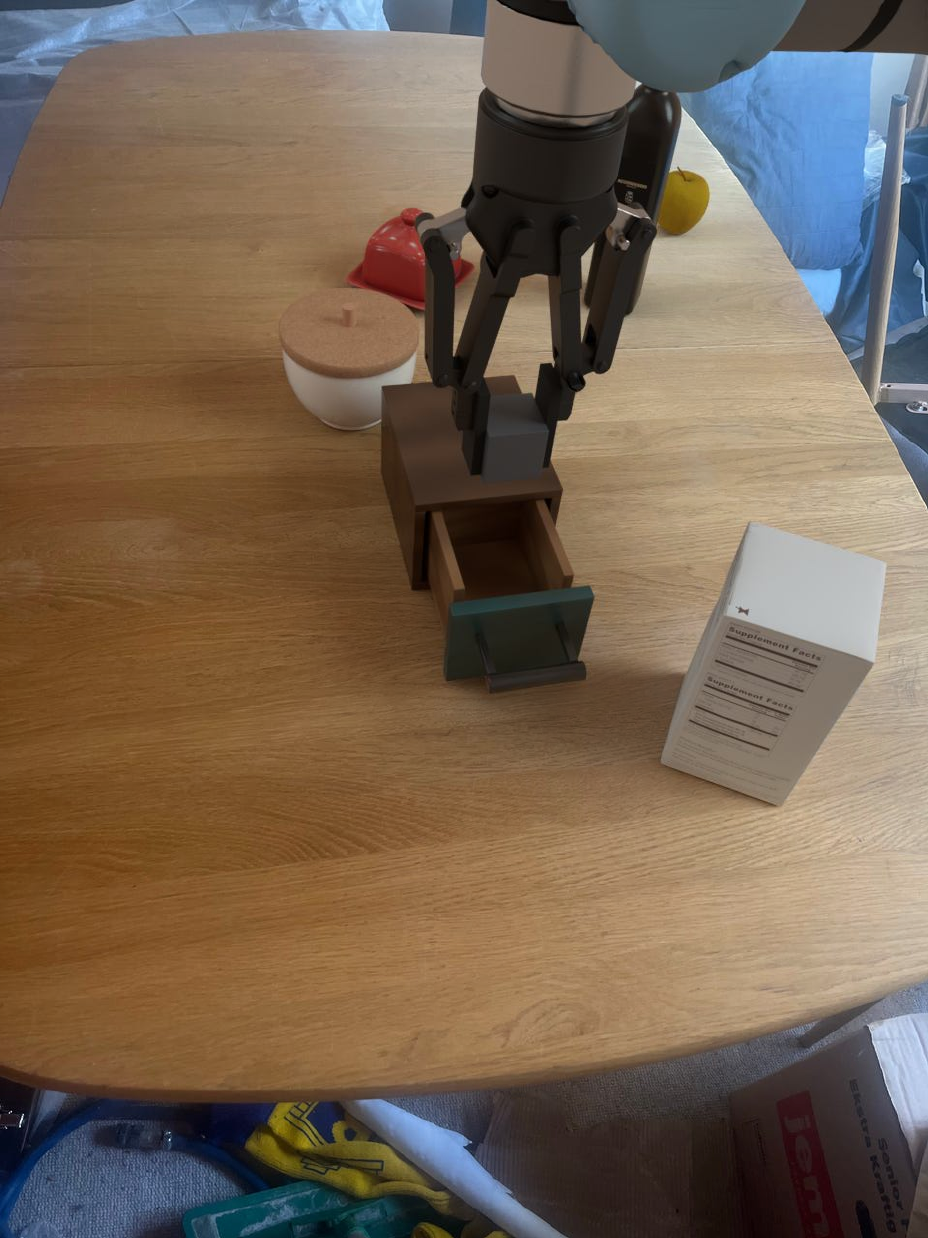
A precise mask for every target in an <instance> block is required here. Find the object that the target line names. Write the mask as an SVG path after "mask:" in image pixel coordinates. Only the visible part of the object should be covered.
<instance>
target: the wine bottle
mask: <svg viewBox="0 0 928 1238" xmlns="http://www.w3.org/2000/svg"><path fill="white" fill-rule="evenodd" d="M625 106H626V107H627V109H628V112H629V120H628V125H627V130H626V135H625V140H624V145H623V150H622V156H621V161H620V166H619V171H618V176H617V178H616V180H615V182H614V193H615V196H616V199H617V202H618V203H621V204H623V205H626V206H627V205H628V204H630V203H633V202H637V203H639V204H640V205H641V206H642V207H643V209H644V210H645V212H646V213H647V215H648V216H649V218H650V219H651V220H652V222H653V223H654V225H655V226H656V227H657V226H658V217H659V213H660V209H661V205H662V201H663V196H664V192H665V188H666V184H667V180H668V175H669V173H670V172H671V167H672V162H673V159H674V153H675V150H676V146H677V141H678V137H679V133H680V129H681V124H682V117H683V116H682V115H683V114H682V113H683V109H682V103H681V99H680V97H679V96H678V93H672V92H666V91H661V90H657V89H654V88H651V87H648V86H646V85H644V84H642V83H640V84H638V85H637V87H635V91H634V95H633V98H632V99H631V100H630V101H629V102H628V103H626V104H625ZM606 241H607V237H606V230H605V231H604V232H603V233H602V234H601V236H600V237H599V238H598V239H597V240H596V241H595V242H594V244H593V248H592V253H591V257H590V258H591V259H590V263H589V268H588V275H587V279H586V283H585V289H584V295H583V303H584V304H585V305H586V306H587V307H590V305H591V301H592V297H593V292H594V288H595V284H596V280H597V275H598V271H599V267H600V263H601V259H602V254H603V250H604V247H605V243H606ZM653 242H654V241H653ZM653 242H652V244H651V245H650V247H649V248H648V250H647V252H646V253H645V255H644V256H643V258H642V259H641V261H640V263H639V265H638V268H637V272H636V276H635V279H634V283H633V287H632V291H631V294H630V298H629V302H628V305H627V309H626V313H625V316H629V315H631V313H633V311H634V309H635V307H636V305H637V303H638V301H639V298H640V296H641V292H642V288H643V285H644V280H645V275H646V271H647V267H648V263H649V259H650V255H651V252H652V251H651V250H652V247H653Z"/></svg>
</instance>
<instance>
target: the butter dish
mask: <svg viewBox="0 0 928 1238" xmlns="http://www.w3.org/2000/svg"><path fill="white" fill-rule="evenodd" d="M421 213H425V212H424V211H423V210H422V209H420V208H418V207H407V208H404V209H403V210H402V211H401V212H400V215H397V216H394V217H393V218H391V219H389V220H387V221H386V222H385V223H383V224H382V225H381V226H380V227H379V228H377V229H376V230H375V232H373V233H372V235H371V237H369V239H368V241H367V243H366V246H365V251H364V257H363V260H362V261H361V262H360V263H358V265H357V266H356V267H355V268H354V269H353V270H351V272H350V273H348V275H346V278H345V281H346V283H347V284H349V285H350V286H352V287H353V288H359V289H366V290H372V291H376V292H379V293H383V294H385V295H388V296H390V297H392V298H394V299H396V300H398V301H400V302H401V303H402V304H404V305H405V306H407V307H408V306H409V307H410V308H414V309H416V310H419V311H424V312H425V253H424V250H423V247H422V245H421V242H420V240H419V237H418V234H417V232H416V229H415V225H414V222H415V219H416V217H417V216H418V215H420V214H421ZM452 263H453V266H454V271H455V290H456V289H457V288H458V287H460V285H461V284H462V283H463V282H464V281H465V280H466V279H467V278H469V276H471V274H472V272H474V270H475V264H474V263H473V262H472V261H471V262H470V261H468V260H466V259H464V258H462V255H461V253H460V254H459V258H458V259H457V260H454V261H452Z"/></svg>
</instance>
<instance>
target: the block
mask: <svg viewBox="0 0 928 1238" xmlns="http://www.w3.org/2000/svg"><path fill="white" fill-rule="evenodd" d="M548 433H549V430H548V428H547V426H546V423H545V421H544V419H543V417H542V414H541V412H540V410H539V407H538V405H537V403H536V401H535V395H534V394H533V392H526V393H524V392H522V394H512V395H500V396H491V399H490V407H489V416H488V424H487V430H486V437H485V446H484V455H483V463H482V472H481V478H482V481H483V483H493V482H502V481H512V480H521V479H531V478H540V477H541V472H542V466H543V461H544V455H545V450H546V444H547V439H548Z"/></svg>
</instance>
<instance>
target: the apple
mask: <svg viewBox="0 0 928 1238" xmlns="http://www.w3.org/2000/svg"><path fill="white" fill-rule="evenodd" d="M676 168H677V170H672V171H669V175H668V180H667V184H666V188H665V192H664V196H663V201H662V205H661V209H660V213H659V217H658V222H657V225H658V226H659V228H660V229H661V230H662V231H665V232H668V233H669V234H672V235H682V234H686V233H688V232H690V231H691V230H692V229H693V228H694V227H695V226H696V225H697V224H698V223H699V222H701V220H702V218H703V217H704V215H705V213H706V211H707V209H708V207H709V203H710V193H711V192H710V186H709V184H708V181H707V180H706V179H705V178H704V177H703V176H702V175H699V174H697V173H695V172H694V171H693V172H692V171H689V170H684V169H683V170H681V168H680V167H679V165H677V166H676Z"/></svg>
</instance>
